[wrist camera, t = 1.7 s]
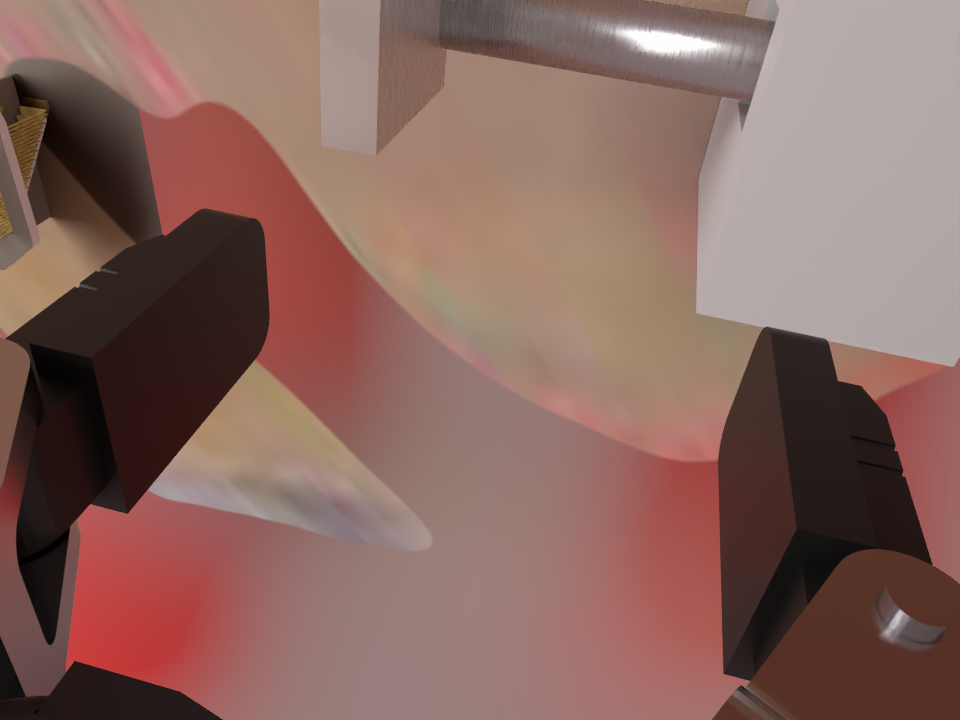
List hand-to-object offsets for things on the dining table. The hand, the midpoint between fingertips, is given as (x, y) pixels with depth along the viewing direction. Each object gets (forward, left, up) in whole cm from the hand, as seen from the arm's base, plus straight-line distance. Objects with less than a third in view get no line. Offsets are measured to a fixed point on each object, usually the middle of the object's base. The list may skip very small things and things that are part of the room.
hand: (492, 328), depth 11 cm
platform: (+29, +12, -27) cm, 42 cm away
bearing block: (-9, 0, -26) cm, 27 cm away
